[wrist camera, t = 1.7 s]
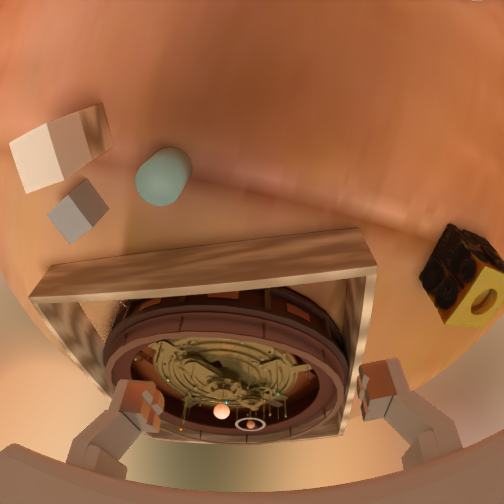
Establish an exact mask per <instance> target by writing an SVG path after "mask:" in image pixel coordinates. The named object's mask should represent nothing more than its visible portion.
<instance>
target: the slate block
mask: <svg viewBox="0 0 504 504" xmlns="http://www.w3.org/2000/svg"><path fill="white" fill-rule="evenodd" d="M108 209H109V208H108V206H107V205H106V204H105V202H104V201H103V200H102V198H101V197H100V195H99V194H98V193H97V191H96V190H95V189H94V187H93V186H92V184H91V183H90V182H89V180H88V179H86V180H85V181H84V182H82V183H81V184H80V185H79V186H77V187H76V188H75V189H74V190H73V191H71V192H70V193H69V194H68V195H67V196H66V197H65V198H64V199H62V200H61V201H60V202H59V203H58V204H57V205H56V206H55V207H54V208H53V209H52V210H51V211H50V212H49V213H48V214H47V216H48V217H49V219H50V220H51V221H52V223H53V224H54V225H55V227H56V228H57V229H58V230H59V232H60V233H61V234H62V235H63V237H64V238H65V239H66V240H67V242H68V243H69V244H72V243H73V242H74V241H75V240H77V239H78V238H79V237H81V236H82V235H83V234H85V233H86V232H87V231H89V230H90V229H91V228H93V227H94V225H95V224H96V223H97V222H98V221H99V220H100V218H101V217H102V216H103V215H104V214H105V213H106V212H107V210H108Z"/></svg>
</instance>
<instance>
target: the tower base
mask: <svg viewBox="0 0 504 504" xmlns="http://www.w3.org/2000/svg"><path fill="white" fill-rule="evenodd" d="M79 115H80V119H81V123H82V126H83V130H84V134H85V137H86V141H87V144H88V147H89V151H90V154H91V157H92V160H93V159H95V158H96V157H98V156H99V155H101V154H102V153H104V152H105V151H107V150H109V149H110V148H112V147H113V146H114V143H113V140H112V136H111V132H110V129H109V125H108V121H107V117H106V113H105V109H104V105H103V103H101V104H98V105H95V106H92V107H89V108H86V109H83V110H80V111H79Z"/></svg>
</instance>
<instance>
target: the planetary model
mask: <svg viewBox="0 0 504 504" xmlns="http://www.w3.org/2000/svg"><path fill="white" fill-rule="evenodd" d="M122 301H123V300H121V301H120V303H121V304H122V305H124V307H123V308H122V309H121V310H120V311H119V313H118V315H117V318H116V320H115V323H114V325H113V328H112V331H111V333H110V334H109V336H108V338H107V341H106V343H105V346H104V349H103V364H104V366H105V373H106V381H107V384H108V386H109V389H110V391H111V392H112V394H113V395H114V392H115V388H114V385H115V387H116V386H117V383H118V382H119V380H120V379H124V380H140V381H153V382H154V383H155V384H156V389H157V390H159V391H161V393H162V394H163V397H164V410H163V412H162V413H161V414H160V415H159V416H160V418H161V420H164V421H166V422H168V423H171V424H174V425H177V426H180V428H179V430H180V431H182V430H183V428H186V429H190V430H194V431H199V432H200V439H196V438H192V437H188V436H184V435H181V434H178V433H175V432H172V431H169V430H167V429H164V428H162V427H160V429H161V430H163V431H166V432H168V433H171V434H174V435H177V436H180V437H184V438H187V439H191V440H196V441H201V442H206V443H213V444H222V445H258V444H266V443H274V442H279V441H283V440H287V439H291V438H294V437H297V436H300V435H303V434H306V433H308V432H310V431H312V430H314V429H316V428H318V427H320V426H321V425H322V424H324V423H325V422H327V421H328V420H329V419H331V418H332V416H333V415H334V414H335V413H336V412H337V411H338V410H339V408H340V406H341V403H342V401H343V398H344V394H345V391H346V386H347V381H348V375H349V365H348V363H347V360H346V357H345V354H344V343H343V340H342V337H341V334H340V332H339V329H338V328H337V326H336V325H335V324H334V322H333V321H332V320H331V318H330V317H329V316H328V314H326V313H325V312H324V311H322V310H321V309H320V308H319V307H317V306H316V305H315V304H314V303H312V302H311V301H310V300H308V299H306V298H304V297H302V296H300V295H298V294H296V293H294V292H292V291H290V290H288V289H285V288H281V287H270V288H260V289H250V290H240V291H230V292H219V293H207V294H196V295H183V296H170V297H157V298H142V299H130V300H129V301H128V302H127V303H126V304H124V303H122ZM113 384H114V385H113ZM333 407H334V408H333ZM331 408H333V410H332V411H331V412H330V413H329V414H328V415H327V417H326V412H328V411H329V410H330V409H331ZM322 415H324V417H325V418H324V419H323V420H322V421H320V422H319V423H318V424H316V425H315V426H313V427H311V428H309V429H307V430H305V431H303V432H300V433H298V434H295V435H292V436H291V429H293V428H296V427H298V426H301V425H304V424H306V423H309V422H311V421H313V420H315V419H317V418H318V417H320V416H322ZM182 427H183V428H182ZM285 430H289V432H290V436H289V437H285V438H281V439H277V440H272V441H265V442H257V443H247V439H248V436H250V435H263V434H270V433H276V432H281V431H285ZM202 432H204V433H210V434H218V435H230V436H246V443H222V442H214V441H206V440H201V435H202Z"/></svg>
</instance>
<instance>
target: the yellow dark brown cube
mask: <svg viewBox="0 0 504 504" xmlns="http://www.w3.org/2000/svg"><path fill="white" fill-rule="evenodd" d="M420 280H421V282H422V285H423V288H424V289H425V291H427V294H428V296H429V297H430V298H431V300H432V302H433V303H434V305H435V307H436V308H437V309H438V313H439V314H440V316H441V319H442V321H443V323H444V324H445V325H454V326H466V327H473V328H483V327H484V326H485V325H486V324H487V322H488V321H489V320H490V318H491V317H492V316H493V314H494V313H495V312H496V311H497V309H498V308H499V307H500V305H501V304H502V302H503V301H504V261H503V260H502V259H501V257H500V255H499V254H498V253H497V251H496V250H495V249H494V248H493V247H492V246H491V245H490V244H489V242H488V241H487V240H486V239H484V238H482V237H479V236H478V235H476V234H474V233H471V232H469V231H467V230H464V231H460V230H459V229H458V228H457V227H456V226H453V225H451V224H449V225H447V229H446V230H445V232H444V234H443V236H442V237H441V239H440V241H439V243H438V245H437V246H436V248H435V250H434V252H433V254H432V255H431V258H430V259H429V261H428V263H427V265H426V267H425V269H424V270H423V272H422V273H421V275H420Z"/></svg>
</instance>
